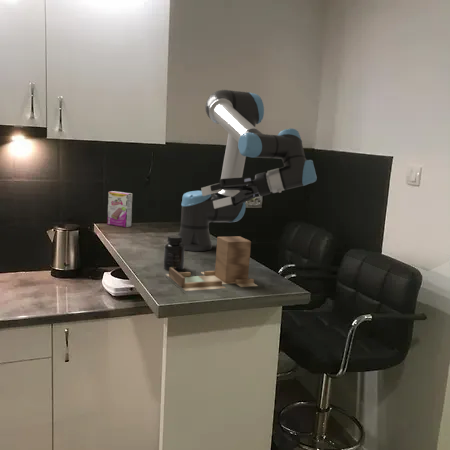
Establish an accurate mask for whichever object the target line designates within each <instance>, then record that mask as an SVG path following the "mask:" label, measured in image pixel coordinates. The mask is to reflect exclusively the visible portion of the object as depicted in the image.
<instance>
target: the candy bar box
mask: <svg viewBox="0 0 450 450" xmlns="http://www.w3.org/2000/svg"><path fill="white" fill-rule="evenodd" d="M133 195H134V194H133V193H131V192H124V191H117V190H114V191H113V190H111V191H108V193H107V218H106V220H107V221H106V224H107V225H109V226H114V227H115V226H116V227H122V228H130V227H132V217H133V213H132V212H133V197H134V196H133Z"/></svg>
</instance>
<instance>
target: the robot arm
mask: <svg viewBox="0 0 450 450" xmlns="http://www.w3.org/2000/svg"><path fill="white" fill-rule="evenodd" d="M204 106H205V113H206V116H207V117H208V118H209V119H210V120H211V121H212V122H213V123H214V124H218V125H220V126H221V127H222V128H223V129H224V130H225V131H226V132H227V133H228V134H227V141H226V146H225V153H224V156H223V163H222V170H221V176H220V179H219V182H218V183H214V184H210V185H207V186H203V187H201V188H200V189H201V190H192V191H187V192H184V193H183V195H182V198H181V199H182V201H181V204H180V205H181V210H180V211H181V215H180V229H179V232H178V234H177V235H178V236H181V237H182V243H181V244H183V245H184V247H185V251H191V252H204V251H209V250H212V247H213V242H212V240H211V235H210V234H211V233H210V230H209V229H210V223H235V222H239V221H240V220H241V219H242V218H243V217H244V215H245V213H246V207H247V205H246V202H248V201H250V200H253V199H254V198H258V197H264V196H268V195H271V194H276V193H279V194H280V193H282V191H287V190H291V189H295V188H299V187H304V186H307V185H309V184H313V183H315V182H317V178H318V177H317V174H316V173H317V172H316V169H315V165H314V161H313V159H307V158H306V155H305V151H304V146H303V141H302V137H301V135H300V133H299V131H298V129H295V128H288V129H287V128H286V129H283V130H281V131H279V133H278V134H268V133H267V134H265V133H262V131H260V130H259V129H258V128H256V125H259V124H260V123H262V121H263V119H264V115H265V107H264V102H263V99H262V98H261V96H260V95H259V94H257V93H254V92H250V91H240V90H230V89H220V90H219V89H218V90H216V91H214V92H212V93H211V94H210V95H209V97H208V98H207V99H206V101H205V105H204ZM247 157H248V158H252V159H254V158H260V159H261V158H262V159H279V160H280V159H281V160H282V165H283V166H282V167H277V168H274V169H270V170H267V172H265V171H264V172H260V173H256V174H255V175H254V179H252V178H251V176H250V175H248V176H244V175H243V174H244V169H245V163H246V158H247Z"/></svg>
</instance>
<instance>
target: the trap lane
mask: <svg viewBox="0 0 450 450" xmlns="http://www.w3.org/2000/svg"><path fill="white" fill-rule="evenodd" d="M200 273H201V274H202V275H196V276H195V275H193V276H192V273H191V272H190V271H185V272H183V271H176V270H174V269H173V268H172V267H170V268H169V270H168V273H165V275H166V276H167V277H168V278H167V277H166V278H167V279H168V281H170V279H171V280H172V281H173V282H174V283H173V285H174V286H176V287H177V285H178V286H179V287H180V288H181V289H183V290H184V291H186V292H189V291H190V292H191V291H203V290H217V289H218V290H220V289H226V286H224V285H228V284H235V285H237V286H239V287H240V288H245V287H246V288H247V287H258V286H259V285H257V284H256V283H255V279H254V278H248V279H236V280H235V282H231V283H225V282H223V281H222V280H220V279H219V278H217V277H216V276H215V270H205V271H201V272H200ZM169 278H170V279H169ZM175 283H176V284H177V285H175ZM183 290H181V292H182V293H183V294H185V293H184V292H183Z"/></svg>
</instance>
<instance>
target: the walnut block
mask: <svg viewBox="0 0 450 450" xmlns="http://www.w3.org/2000/svg"><path fill="white" fill-rule="evenodd" d="M216 239H217V240H216V251H215V252H216V254H215V267H214V271H215V276H216V277H217V278H219V279H220V280H222V281H223V282H225V283H231V282H235V280H236V279H249V271H250V261H251V260H250V259H251V247H252V246H251V245H252V241H251V240H249V239H247V238H244V237H242V236H240V235H239V236H235V235H234V236H233V235H232V236H217V238H216Z"/></svg>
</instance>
